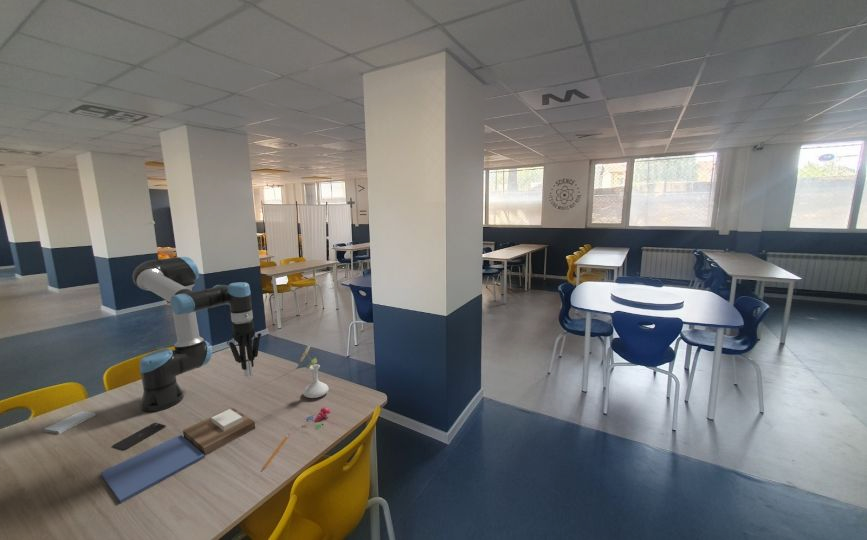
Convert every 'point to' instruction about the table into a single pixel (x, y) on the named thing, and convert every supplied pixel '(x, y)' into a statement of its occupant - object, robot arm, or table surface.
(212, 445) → the brown board
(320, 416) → the toy pieces
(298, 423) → the table surface
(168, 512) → the table surface
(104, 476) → the mat
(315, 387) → the flower in vase
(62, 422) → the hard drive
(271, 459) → the pencil
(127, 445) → the smartphone
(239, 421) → the tile
